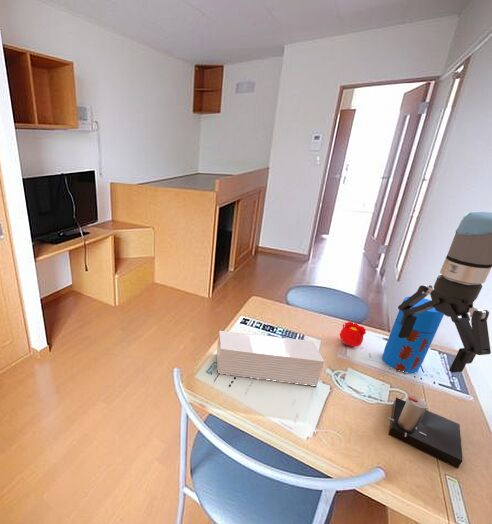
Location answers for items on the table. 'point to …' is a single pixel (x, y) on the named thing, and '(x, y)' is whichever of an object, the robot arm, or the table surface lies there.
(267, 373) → the stack of papers
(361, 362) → the table surface
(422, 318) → the thermos
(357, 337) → the flower
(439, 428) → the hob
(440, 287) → the robot arm
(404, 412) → the beige cylinder
